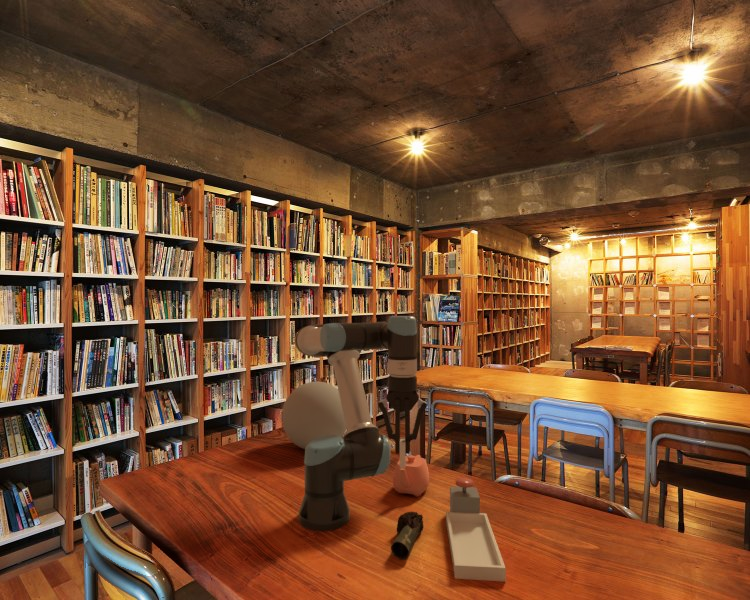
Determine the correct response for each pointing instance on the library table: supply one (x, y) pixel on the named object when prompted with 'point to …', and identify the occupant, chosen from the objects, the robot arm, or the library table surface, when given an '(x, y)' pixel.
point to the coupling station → (472, 536)
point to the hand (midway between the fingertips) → (402, 465)
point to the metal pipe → (406, 534)
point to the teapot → (411, 476)
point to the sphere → (313, 413)
